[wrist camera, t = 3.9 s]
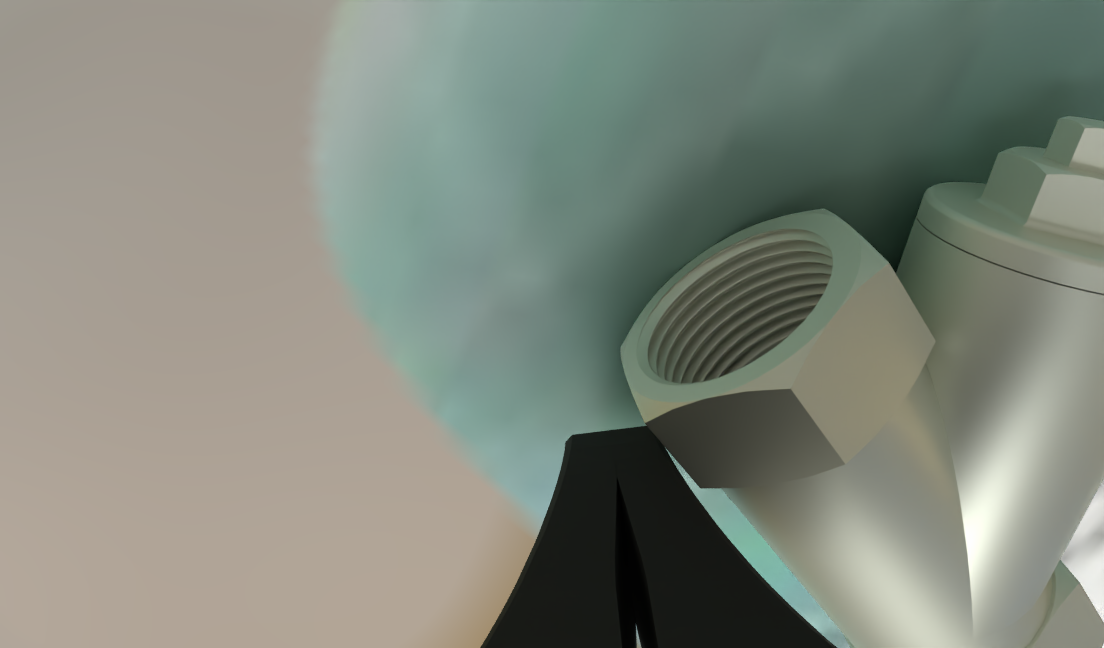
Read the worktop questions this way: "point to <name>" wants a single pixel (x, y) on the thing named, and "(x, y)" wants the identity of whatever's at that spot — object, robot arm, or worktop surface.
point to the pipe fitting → (905, 400)
